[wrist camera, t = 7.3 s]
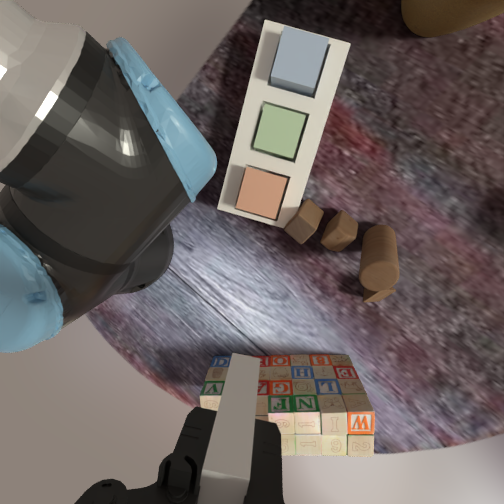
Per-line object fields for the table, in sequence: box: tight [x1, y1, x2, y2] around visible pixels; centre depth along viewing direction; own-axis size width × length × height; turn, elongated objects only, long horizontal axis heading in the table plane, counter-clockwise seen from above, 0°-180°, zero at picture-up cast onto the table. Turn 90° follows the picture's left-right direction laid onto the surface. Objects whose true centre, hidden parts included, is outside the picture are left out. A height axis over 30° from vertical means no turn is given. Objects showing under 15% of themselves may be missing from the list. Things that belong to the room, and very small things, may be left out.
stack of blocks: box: [200, 354, 375, 457], centre depth 41 cm, size 21×6×12 cm, turn 93°
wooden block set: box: [284, 199, 399, 302], centre depth 37 cm, size 18×9×10 cm, turn 50°
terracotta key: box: [236, 167, 287, 219], centre depth 37 cm, size 5×5×4 cm
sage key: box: [253, 104, 306, 161], centre depth 36 cm, size 5×5×4 cm
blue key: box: [271, 26, 329, 98], centre depth 33 cm, size 5×5×4 cm
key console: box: [217, 20, 351, 228], centre depth 37 cm, size 10×22×4 cm, turn 164°
